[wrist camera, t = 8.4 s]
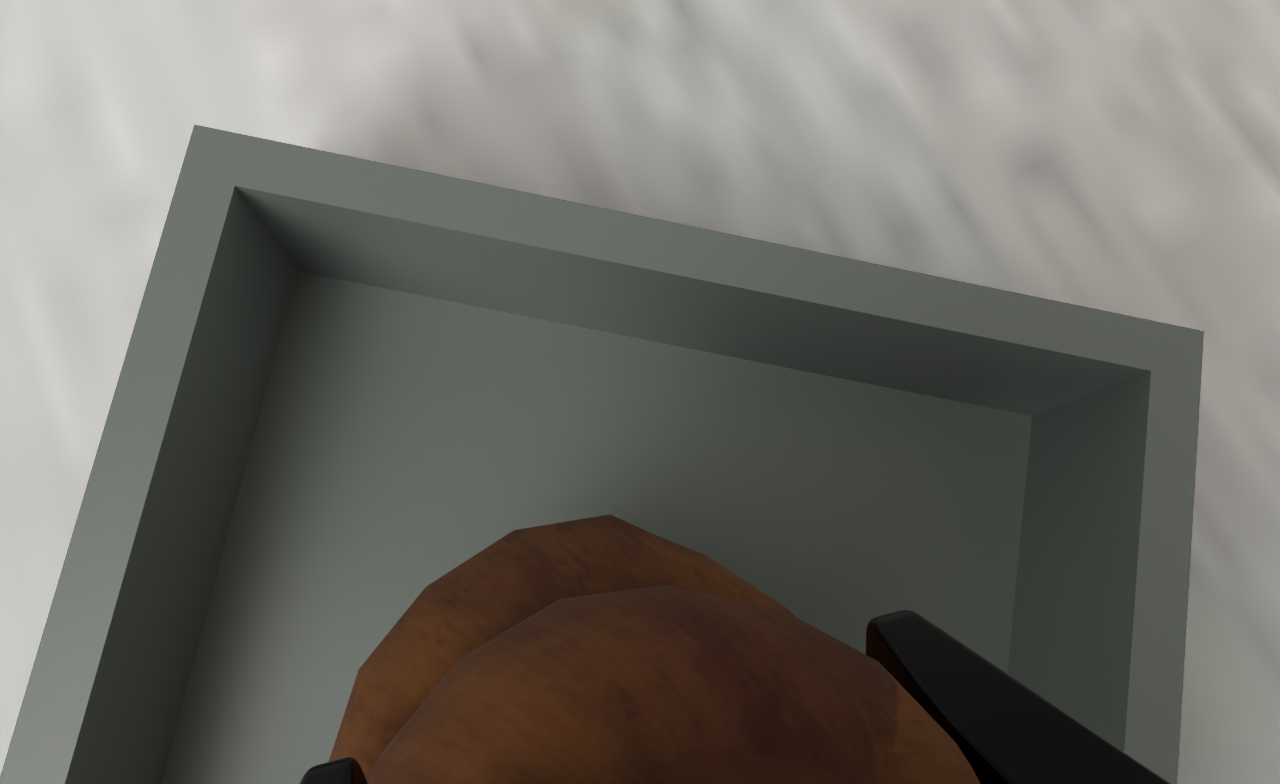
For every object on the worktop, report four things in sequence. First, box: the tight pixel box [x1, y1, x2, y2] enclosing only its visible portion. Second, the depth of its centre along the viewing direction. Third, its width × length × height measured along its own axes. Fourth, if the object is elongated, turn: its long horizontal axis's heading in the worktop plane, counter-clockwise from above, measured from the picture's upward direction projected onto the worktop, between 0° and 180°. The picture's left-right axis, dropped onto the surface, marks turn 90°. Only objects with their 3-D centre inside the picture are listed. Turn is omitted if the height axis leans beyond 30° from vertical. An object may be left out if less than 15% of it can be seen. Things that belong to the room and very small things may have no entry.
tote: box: [0, 125, 1204, 784], centre depth 16 cm, size 16×16×4 cm
